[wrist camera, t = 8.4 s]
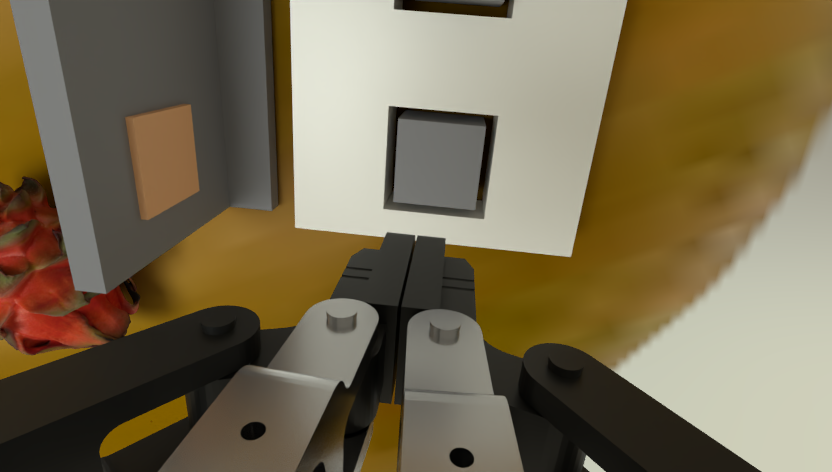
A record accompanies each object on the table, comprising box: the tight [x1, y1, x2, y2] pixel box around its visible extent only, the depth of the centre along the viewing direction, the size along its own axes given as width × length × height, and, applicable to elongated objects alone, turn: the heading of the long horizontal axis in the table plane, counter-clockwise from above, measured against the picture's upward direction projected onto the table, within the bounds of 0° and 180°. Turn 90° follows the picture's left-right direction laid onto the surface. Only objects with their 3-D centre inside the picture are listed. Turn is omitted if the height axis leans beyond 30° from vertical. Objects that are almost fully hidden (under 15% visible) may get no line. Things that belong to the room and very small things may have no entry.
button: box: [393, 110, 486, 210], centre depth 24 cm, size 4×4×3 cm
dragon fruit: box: [0, 177, 140, 355], centre depth 27 cm, size 8×8×12 cm
